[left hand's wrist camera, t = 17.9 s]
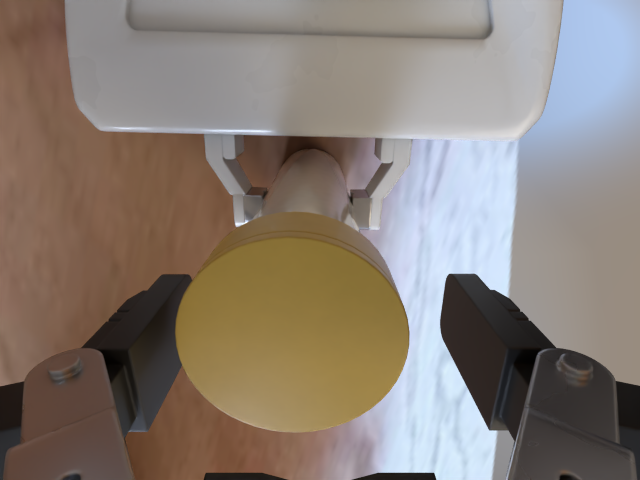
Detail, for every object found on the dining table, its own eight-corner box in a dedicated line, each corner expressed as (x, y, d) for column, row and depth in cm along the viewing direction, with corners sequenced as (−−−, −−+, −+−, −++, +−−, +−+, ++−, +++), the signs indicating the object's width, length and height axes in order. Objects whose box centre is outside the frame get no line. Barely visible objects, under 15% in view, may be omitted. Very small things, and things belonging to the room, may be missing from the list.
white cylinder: (319, 134, 24) (317, 208, 8) (356, 190, 25) (416, 347, 9) (265, 173, 25) (167, 307, 9) (303, 224, 26) (276, 421, 10)
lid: (158, 288, 10) (124, 328, 8) (313, 167, 9) (311, 183, 7) (284, 408, 12) (278, 463, 10) (431, 318, 10) (453, 363, 9)
